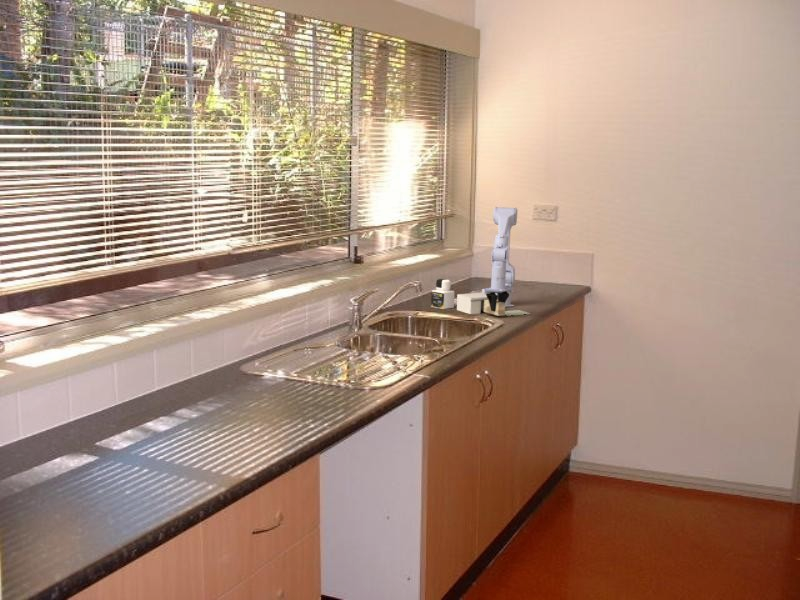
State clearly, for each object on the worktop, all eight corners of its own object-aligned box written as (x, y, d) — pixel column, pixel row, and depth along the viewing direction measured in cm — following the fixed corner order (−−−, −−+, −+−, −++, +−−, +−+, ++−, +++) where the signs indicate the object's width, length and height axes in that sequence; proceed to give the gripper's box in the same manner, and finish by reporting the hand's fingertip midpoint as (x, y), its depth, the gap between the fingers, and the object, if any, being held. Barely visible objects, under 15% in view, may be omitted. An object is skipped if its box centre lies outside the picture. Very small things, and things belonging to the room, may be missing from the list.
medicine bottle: (430, 306, 404) (431, 279, 402) (441, 305, 409) (442, 277, 407) (443, 309, 399) (444, 281, 397) (454, 307, 404) (455, 279, 402)
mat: (495, 312, 395) (495, 311, 395) (518, 310, 401) (518, 309, 401) (507, 316, 389) (507, 315, 388) (530, 314, 395) (530, 313, 395)
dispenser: (456, 310, 398) (457, 294, 397) (483, 308, 406) (484, 292, 404) (470, 314, 390) (471, 298, 389) (498, 312, 397) (499, 296, 396)
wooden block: (483, 311, 391) (484, 299, 390) (490, 311, 393) (490, 299, 392) (498, 315, 383) (498, 303, 382) (504, 315, 384) (505, 303, 384)
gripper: (489, 279, 377) (488, 313, 379) (518, 278, 384) (517, 311, 386) (479, 277, 383) (477, 310, 385) (508, 275, 390) (506, 308, 392)
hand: (496, 310), depth 386 cm, fingers closed on wooden block, 3 cm apart
